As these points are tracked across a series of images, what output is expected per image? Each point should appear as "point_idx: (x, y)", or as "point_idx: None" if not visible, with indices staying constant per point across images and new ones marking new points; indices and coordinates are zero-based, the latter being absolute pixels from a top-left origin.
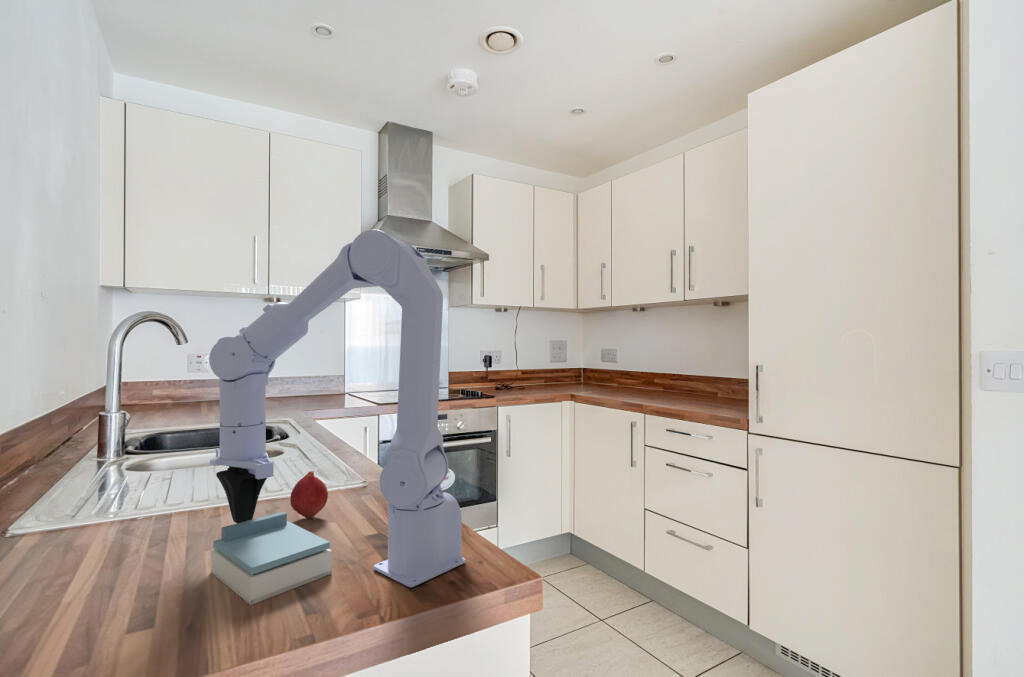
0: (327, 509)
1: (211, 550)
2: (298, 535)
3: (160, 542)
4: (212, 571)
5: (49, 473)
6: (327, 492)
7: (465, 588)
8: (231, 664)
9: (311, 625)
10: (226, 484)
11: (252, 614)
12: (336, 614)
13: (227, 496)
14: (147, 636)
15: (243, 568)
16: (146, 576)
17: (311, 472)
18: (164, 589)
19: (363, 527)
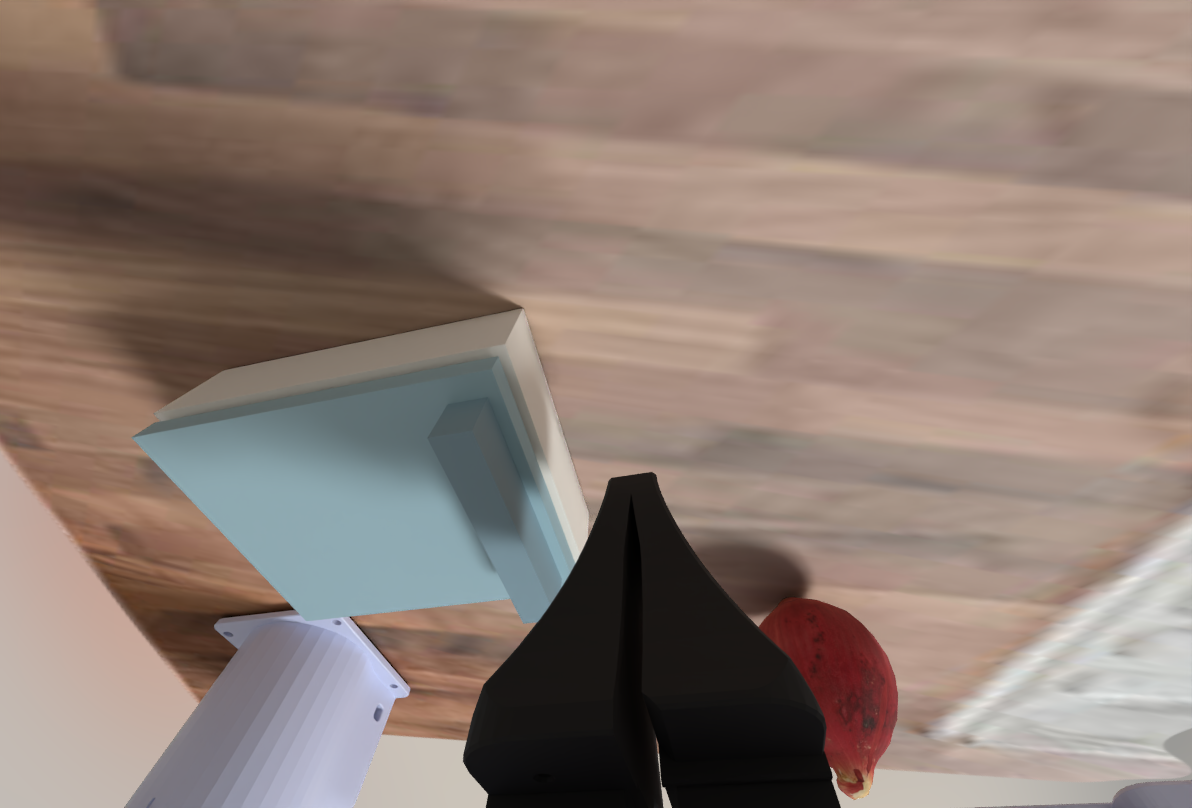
0: None
1: (503, 343)
2: (400, 584)
3: (1071, 148)
4: (507, 313)
5: None
6: None
7: (203, 663)
8: None
9: (85, 455)
10: (613, 643)
11: (165, 364)
12: (133, 502)
13: (674, 557)
14: (53, 53)
15: (214, 411)
16: (647, 62)
17: (848, 790)
18: (454, 136)
19: None
